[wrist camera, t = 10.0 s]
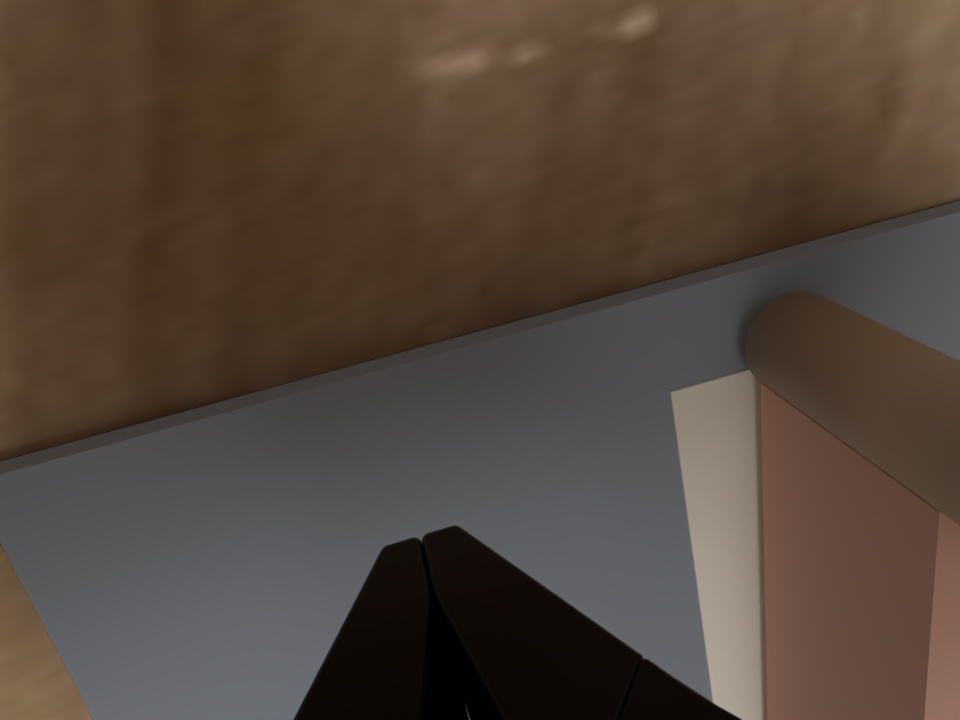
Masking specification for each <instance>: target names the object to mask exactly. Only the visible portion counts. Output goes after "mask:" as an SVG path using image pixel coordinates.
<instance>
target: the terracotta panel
mask: <svg viewBox="0 0 960 720" xmlns="http://www.w3.org/2000/svg"><path fill="white" fill-rule="evenodd" d="M745 358H746V362H747V365H748V367H749V369H750V371H751V373H752V374H753V375H754V376H755V378H757V379H758V380H759V381H760V382H762V383H760V384H761V432H762V481H763V529H764V578H765V626H766V674H767V720H960V361H959V360H957V359H955V358H952V357H950V356H948V355H946V354H944V353H942V352H940V351H938V350H935V349H933V348H931V347H929V346H927V345H925V344H923V343H920V342H918V341H916V340H914V339H912V338H910V337H908V336H906V335H903V334H901V333H899V332H897V331H895V330H893V329H891V328H889V327H886V326H884V325H882V324H880V323H878V322H876V321H874V320H871V319H869V318H867V317H865V316H863V315H861V314H859V313H857V312H854V311H852V310H850V309H848V308H846V307H844V306H842V305H840V304H837V303H835V302H833V301H831V300H829V299H827V298H825V297H823V296H820V295H818V294H816V293H813V292H808V291H796V292H790V293H787V294H784V295H782V296H779V297H778V298H776V299H774V300H773V301H771V302H770V303H768V304H767V305H766V306H765V307H764V308H763V309H762V310H761V311H760V312H759V313H758V315H757V316H756V317H755V319H754V320H753V322H752V324H751V326H750V328H749V331H748V333H747V337H746V342H745Z"/></svg>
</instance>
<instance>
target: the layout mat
mask: <svg viewBox="0 0 960 720" xmlns="http://www.w3.org/2000/svg"><path fill="white" fill-rule="evenodd" d="M796 291H808V292H813V293H816V294H818V295H820V296H823V297H825V298H827V299H829V300H831V301H833V302H835V303H837V304H840V305H842V306H844V307H846V308H848V309H850V310H852V311H854V312H857V313H859V314H861V315H863V316H865V317H867V318H869V319H871V320H874V321H876V322H878V323H880V324H882V325H884V326H886V327H889V328H891V329H893V330H895V331H897V332H899V333H901V334H903V335H906V336H908V337H910V338H912V339H914V340H916V341H918V342H920V343H923V344H925V345H927V346H929V347H931V348H933V349H935V350H938V351H940V352H942V353H944V354H946V355H948V356H950V357H952V358H955V359H957V360H959V361H960V201H956V202H952V203H949V204H945V205H941V206H938V207H934V208H930V209H927V210H923V211H919V212H916V213H912V214H908V215H905V216H901V217H897V218H894V219H890V220H886V221H883V222H879V223H875V224H872V225H868V226H864V227H861V228H857V229H853V230H850V231H846V232H842V233H838V234H835V235H831V236H827V237H824V238H820V239H816V240H813V241H809V242H805V243H802V244H798V245H794V246H791V247H787V248H783V249H780V250H776V251H772V252H769V253H765V254H761V255H758V256H754V257H750V258H747V259H743V260H739V261H736V262H732V263H728V264H725V265H721V266H717V267H713V268H710V269H706V270H702V271H699V272H695V273H691V274H688V275H684V276H680V277H677V278H673V279H669V280H666V281H662V282H658V283H655V284H651V285H647V286H644V287H640V288H636V289H633V290H629V291H625V292H622V293H618V294H614V295H611V296H607V297H603V298H600V299H596V300H592V301H588V302H585V303H581V304H577V305H574V306H570V307H566V308H563V309H559V310H555V311H552V312H548V313H544V314H541V315H537V316H533V317H530V318H526V319H522V320H519V321H515V322H511V323H508V324H504V325H500V326H497V327H493V328H489V329H486V330H482V331H478V332H475V333H471V334H467V335H464V336H460V337H456V338H452V339H449V340H445V341H441V342H438V343H434V344H430V345H427V346H423V347H419V348H416V349H412V350H408V351H405V352H401V353H397V354H394V355H390V356H386V357H383V358H379V359H375V360H372V361H368V362H364V363H361V364H357V365H353V366H350V367H346V368H342V369H339V370H335V371H331V372H327V373H324V374H320V375H316V376H313V377H309V378H305V379H302V380H298V381H294V382H291V383H287V384H283V385H280V386H276V387H272V388H269V389H265V390H261V391H258V392H254V393H250V394H247V395H243V396H239V397H236V398H232V399H228V400H225V401H221V402H217V403H214V404H210V405H206V406H203V407H199V408H195V409H191V410H188V411H184V412H180V413H177V414H173V415H169V416H166V417H162V418H158V419H155V420H151V421H147V422H144V423H140V424H136V425H133V426H129V427H125V428H122V429H118V430H114V431H111V432H107V433H103V434H100V435H96V436H92V437H89V438H85V439H81V440H78V441H74V442H70V443H66V444H63V445H59V446H55V447H52V448H48V449H44V450H41V451H37V452H33V453H30V454H26V455H22V456H19V457H15V458H11V459H8V460H4V461H0V544H1V546H2V548H3V550H4V552H5V554H6V555H7V557H8V559H9V561H10V563H11V565H12V567H13V569H14V571H15V573H16V574H17V576H18V578H19V580H20V582H21V584H22V586H23V588H24V590H25V591H26V593H27V595H28V597H29V599H30V601H31V603H32V605H33V607H34V609H35V610H36V612H37V614H38V616H39V618H40V620H41V622H42V624H43V626H44V628H45V629H46V631H47V633H48V635H49V637H50V639H51V641H52V643H53V645H54V646H55V648H56V650H57V652H58V654H59V656H60V658H61V660H62V662H63V664H64V665H65V667H66V669H67V671H68V673H69V675H70V677H71V679H72V681H73V682H74V684H75V686H76V688H77V690H78V692H79V694H80V696H81V698H82V700H83V701H84V703H85V705H86V707H87V709H88V711H89V713H90V715H91V717H92V719H93V720H293V719H294V717H295V715H296V713H297V711H298V709H299V707H300V705H301V703H302V701H303V700H304V698H305V696H306V694H307V692H308V690H309V688H310V686H311V684H312V682H313V680H314V678H315V676H316V675H317V673H318V671H319V669H320V667H321V665H322V663H323V661H324V659H325V657H326V655H327V653H328V651H329V649H330V648H331V646H332V644H333V642H334V640H335V638H336V636H337V634H338V632H339V630H340V628H341V626H342V624H343V622H344V621H345V619H346V617H347V615H348V613H349V611H350V609H351V607H352V605H353V603H354V601H355V599H356V597H357V596H358V594H359V592H360V590H361V588H362V586H363V584H364V582H365V580H366V578H367V576H368V574H369V572H370V570H371V569H372V567H373V565H374V563H375V561H376V559H377V557H378V555H379V553H380V551H381V550H382V548H383V547H385V546H386V545H389V544H393V543H396V542H400V541H403V540H406V539H410V538H415V537H416V538H419V539H420V540H421V542H422V538H423V536H424V535H425V534H427V533H430V532H433V531H437V530H440V529H443V528H447V527H450V526H454V525H456V526H459V527H461V528H462V529H464V530H465V531H467V532H468V533H469V534H471V535H472V536H474V537H475V538H477V539H478V540H479V541H481V542H482V543H484V544H485V545H486V546H488V547H489V548H491V549H492V550H494V551H495V552H496V553H498V554H499V555H501V556H502V557H504V558H505V559H506V560H508V561H509V562H511V563H512V564H513V565H515V566H516V567H518V568H519V569H521V570H522V571H523V572H525V573H526V574H528V575H529V576H531V577H532V578H533V579H535V580H536V581H538V582H539V583H540V584H542V585H543V586H545V587H546V588H548V589H549V590H550V591H552V592H553V593H555V594H556V595H558V596H559V597H560V598H562V599H563V600H565V601H566V602H568V603H569V604H570V605H572V606H573V607H575V608H576V609H577V610H579V611H580V612H582V613H583V614H585V615H586V616H587V617H589V618H590V619H592V620H593V621H595V622H596V623H597V624H599V625H600V626H602V627H603V628H604V629H606V630H607V631H609V632H610V633H612V634H613V635H614V636H616V637H617V638H619V639H620V640H622V641H623V642H624V643H626V644H627V645H629V646H630V647H631V648H633V649H634V650H636V651H637V652H639V653H640V654H641V655H642V656H643V658H644V659H649V660H651V661H652V662H653V663H655V664H656V665H657V666H659V667H660V668H662V669H663V670H664V671H666V672H667V673H669V674H670V675H672V676H673V677H675V678H676V679H678V680H679V681H681V682H682V683H684V684H685V685H687V686H688V687H690V688H691V689H693V690H694V691H696V692H697V693H699V694H700V695H702V696H704V697H705V698H707V699H708V700H710V701H711V702H713V703H714V704H716V705H717V706H719V707H721V708H723V709H724V710H726V711H728V712H730V713H731V714H733V715H735V716H737V717H738V718H740V719H742V720H767V674H766V626H765V578H764V529H763V481H762V432H761V384H760V383H762V382H760V381H759V380H758V379H757V378H755V376H754V375H753V374H752V373H751V371H750V369H749V367H748V365H747V362H746V358H745V342H746V337H747V333H748V331H749V328H750V326H751V324H752V322H753V320H754V319H755V317H756V316H757V315H758V313H759V312H760V311H761V310H762V309H763V308H764V307H765V306H766V305H767V304H768V303H770V302H771V301H773V300H774V299H776V298H778V297H779V296H782V295H784V294H787V293H790V292H796ZM466 709H467V708H466ZM468 716H469V715H468ZM469 720H470V718H469Z"/></svg>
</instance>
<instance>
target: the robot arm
mask: <svg viewBox="0 0 960 720" xmlns="http://www.w3.org/2000/svg"><path fill="white" fill-rule="evenodd" d="M466 708H467V709H466ZM468 715H469V716H468ZM469 718H470V720H742V719H740V718H738V717H737V716H735V715H733V714H731V713H730V712H728V711H726V710H724V709H723V708H721V707H719V706H717V705H716V704H714V703H713V702H711V701H710V700H708V699H707V698H705V697H704V696H702V695H700V694H699V693H697V692H696V691H694V690H693V689H691V688H690V687H688V686H687V685H685V684H684V683H682V682H681V681H679V680H678V679H676V678H675V677H673V676H672V675H670V674H669V673H667V672H666V671H664V670H663V669H662V668H660V667H659V666H657V665H656V664H655V663H653V662H652V661H651V660H649V659H644V658H643V656H642V655H641V654H640V653H639V652H637V651H636V650H634V649H633V648H631V647H630V646H629V645H627V644H626V643H624V642H623V641H622V640H620V639H619V638H617V637H616V636H614V635H613V634H612V633H610V632H609V631H607V630H606V629H604V628H603V627H602V626H600V625H599V624H597V623H596V622H595V621H593V620H592V619H590V618H589V617H587V616H586V615H585V614H583V613H582V612H580V611H579V610H577V609H576V608H575V607H573V606H572V605H570V604H569V603H568V602H566V601H565V600H563V599H562V598H560V597H559V596H558V595H556V594H555V593H553V592H552V591H550V590H549V589H548V588H546V587H545V586H543V585H542V584H540V583H539V582H538V581H536V580H535V579H533V578H532V577H531V576H529V575H528V574H526V573H525V572H523V571H522V570H521V569H519V568H518V567H516V566H515V565H513V564H512V563H511V562H509V561H508V560H506V559H505V558H504V557H502V556H501V555H499V554H498V553H496V552H495V551H494V550H492V549H491V548H489V547H488V546H486V545H485V544H484V543H482V542H481V541H479V540H478V539H477V538H475V537H474V536H472V535H471V534H469V533H468V532H467V531H465V530H464V529H462V528H461V527H459V526H456V525H454V526H450V527H447V528H443V529H440V530H437V531H433V532H430V533H427V534H425V535H424V536H423V538H422V542H421V540H420V539H419V538H416V537H415V538H410V539H406V540H403V541H400V542H396V543H393V544H389V545H386V546H385V547H383V548H382V550H381V551H380V553H379V555H378V557H377V559H376V561H375V563H374V565H373V567H372V569H371V570H370V572H369V574H368V576H367V578H366V580H365V582H364V584H363V586H362V588H361V590H360V592H359V594H358V596H357V597H356V599H355V601H354V603H353V605H352V607H351V609H350V611H349V613H348V615H347V617H346V619H345V621H344V622H343V624H342V626H341V628H340V630H339V632H338V634H337V636H336V638H335V640H334V642H333V644H332V646H331V648H330V649H329V651H328V653H327V655H326V657H325V659H324V661H323V663H322V665H321V667H320V669H319V671H318V673H317V675H316V676H315V678H314V680H313V682H312V684H311V686H310V688H309V690H308V692H307V694H306V696H305V698H304V700H303V701H302V703H301V705H300V707H299V709H298V711H297V713H296V715H295V717H294V719H293V720H469Z"/></svg>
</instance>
